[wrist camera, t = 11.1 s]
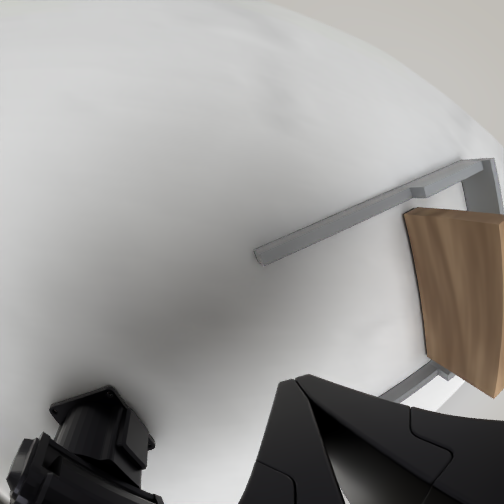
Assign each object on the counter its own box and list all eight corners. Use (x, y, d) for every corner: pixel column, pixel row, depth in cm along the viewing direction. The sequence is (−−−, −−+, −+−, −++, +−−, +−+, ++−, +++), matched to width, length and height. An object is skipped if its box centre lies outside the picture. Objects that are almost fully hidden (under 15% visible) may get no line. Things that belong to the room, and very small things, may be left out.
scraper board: (427, 356, 25) (493, 399, 16) (403, 214, 22) (498, 224, 13) (438, 347, 25) (505, 386, 16) (417, 207, 22) (510, 215, 13)
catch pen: (325, 434, 24) (344, 461, 20) (253, 249, 20) (271, 261, 16) (482, 323, 27) (507, 334, 23) (461, 160, 23) (494, 157, 19)
